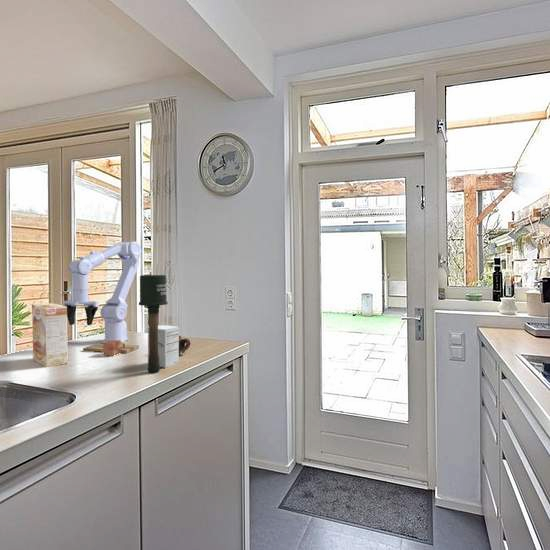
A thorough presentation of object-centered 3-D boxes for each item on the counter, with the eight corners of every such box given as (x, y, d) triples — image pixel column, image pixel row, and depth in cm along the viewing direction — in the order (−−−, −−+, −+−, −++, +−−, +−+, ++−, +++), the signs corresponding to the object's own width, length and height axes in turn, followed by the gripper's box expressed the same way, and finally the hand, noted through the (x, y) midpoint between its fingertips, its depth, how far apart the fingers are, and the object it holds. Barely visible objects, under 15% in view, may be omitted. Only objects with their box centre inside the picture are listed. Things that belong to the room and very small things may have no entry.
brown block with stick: (119, 349, 161) (119, 337, 160) (129, 350, 160) (129, 337, 160) (103, 356, 150) (103, 342, 150) (113, 356, 149) (113, 342, 149)
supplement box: (147, 366, 135) (146, 327, 135) (162, 361, 142) (161, 324, 142) (165, 368, 132) (164, 329, 132) (179, 363, 139) (179, 325, 139)
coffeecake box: (32, 359, 144) (31, 304, 143) (54, 356, 149) (53, 302, 148) (45, 367, 133) (44, 307, 133) (68, 363, 138) (67, 305, 138)
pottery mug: (155, 358, 148) (154, 337, 151) (167, 364, 156) (166, 344, 160) (186, 351, 146) (185, 329, 150) (197, 357, 154) (195, 336, 158)
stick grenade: (160, 376, 123) (159, 275, 122) (133, 374, 125) (132, 275, 124) (172, 369, 131) (172, 274, 130) (148, 367, 133) (147, 274, 132)
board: (97, 346, 166) (97, 343, 166) (138, 348, 163) (138, 345, 163) (83, 351, 157) (83, 348, 157) (126, 353, 154) (126, 349, 154)
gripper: (56, 290, 159) (57, 325, 159) (90, 291, 156) (91, 326, 157) (68, 289, 166) (69, 323, 166) (101, 289, 163) (102, 324, 164)
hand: (80, 324), depth 162 cm, fingers open, 7 cm apart
